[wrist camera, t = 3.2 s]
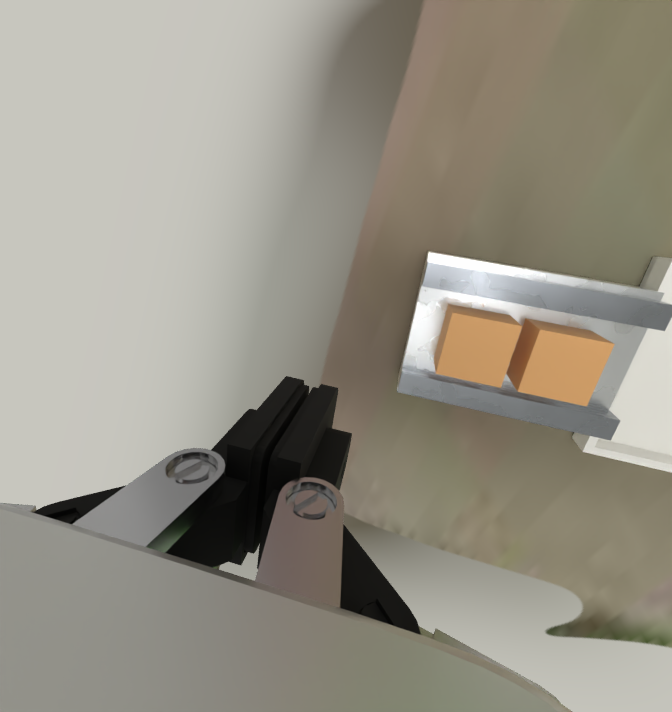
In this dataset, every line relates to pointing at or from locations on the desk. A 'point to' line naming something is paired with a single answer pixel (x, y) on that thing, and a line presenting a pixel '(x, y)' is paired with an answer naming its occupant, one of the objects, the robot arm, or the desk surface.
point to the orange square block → (558, 361)
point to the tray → (644, 393)
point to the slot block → (520, 300)
